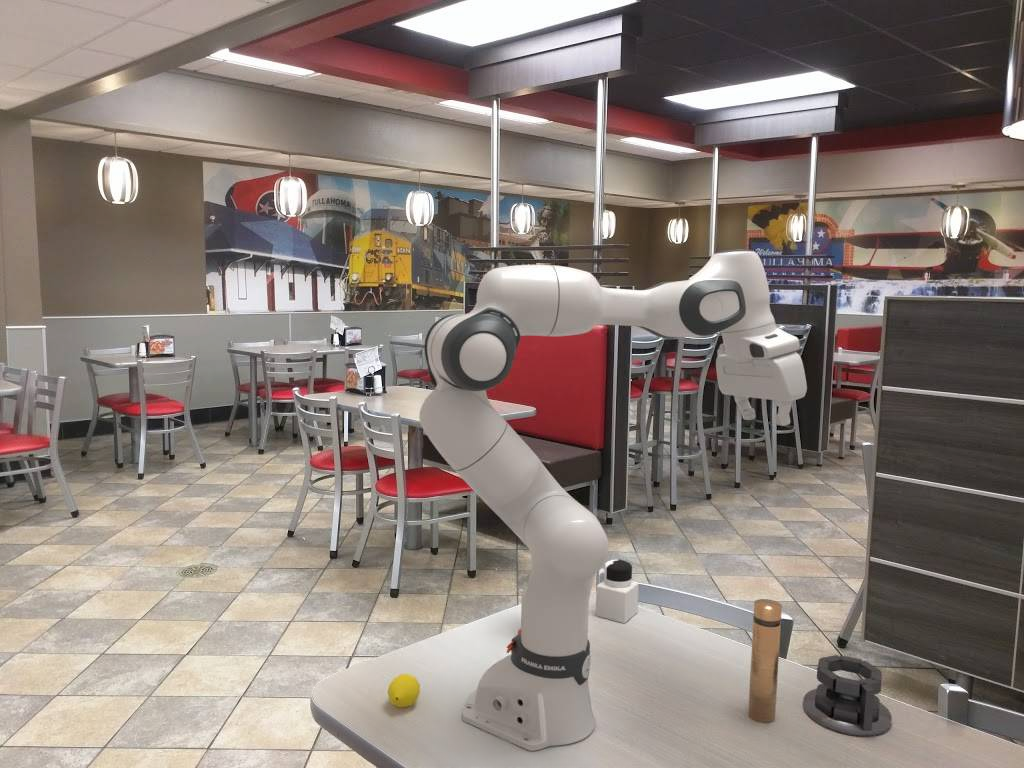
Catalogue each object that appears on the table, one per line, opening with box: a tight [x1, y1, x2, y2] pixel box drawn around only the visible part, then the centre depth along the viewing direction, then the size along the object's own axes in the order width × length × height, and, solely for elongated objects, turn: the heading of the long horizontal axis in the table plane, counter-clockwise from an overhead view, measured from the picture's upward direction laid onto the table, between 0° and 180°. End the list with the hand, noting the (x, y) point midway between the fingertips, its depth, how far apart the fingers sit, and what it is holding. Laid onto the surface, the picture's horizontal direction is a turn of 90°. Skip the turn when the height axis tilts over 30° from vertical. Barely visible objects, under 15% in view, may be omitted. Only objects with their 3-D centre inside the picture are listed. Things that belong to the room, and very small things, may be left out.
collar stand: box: [802, 654, 892, 738], centre depth 135 cm, size 14×14×8 cm
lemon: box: [387, 673, 421, 709], centre depth 136 cm, size 7×5×5 cm
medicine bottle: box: [595, 559, 639, 624], centre depth 174 cm, size 7×7×12 cm
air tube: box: [747, 598, 783, 724], centre depth 133 cm, size 4×4×20 cm
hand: (766, 421), depth 135 cm, fingers open, 8 cm apart
